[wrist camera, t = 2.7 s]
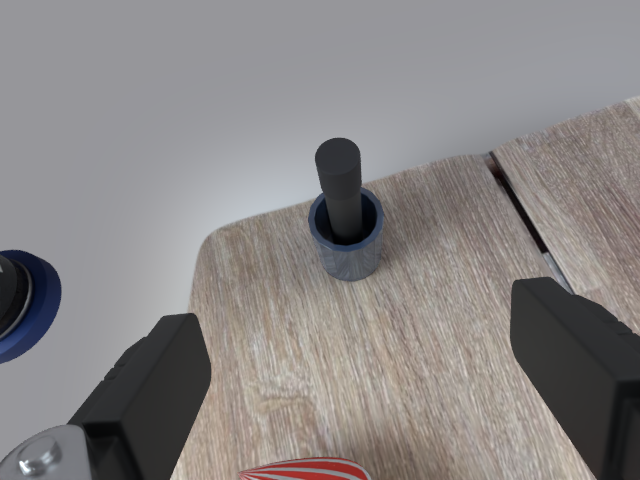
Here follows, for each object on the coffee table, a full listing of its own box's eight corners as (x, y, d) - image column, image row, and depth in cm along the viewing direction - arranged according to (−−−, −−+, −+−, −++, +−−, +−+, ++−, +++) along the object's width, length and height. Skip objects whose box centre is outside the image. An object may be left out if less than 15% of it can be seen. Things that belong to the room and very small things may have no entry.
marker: (339, 266, 35) (320, 179, 22) (332, 240, 36) (310, 143, 23) (368, 259, 34) (365, 168, 22) (360, 233, 36) (354, 132, 23)
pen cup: (327, 288, 34) (316, 259, 28) (314, 232, 37) (302, 194, 30) (389, 273, 34) (393, 240, 28) (372, 217, 37) (372, 176, 30)
